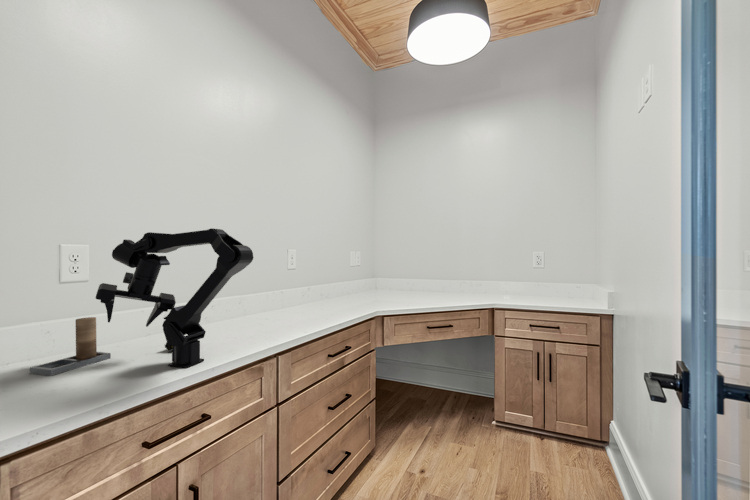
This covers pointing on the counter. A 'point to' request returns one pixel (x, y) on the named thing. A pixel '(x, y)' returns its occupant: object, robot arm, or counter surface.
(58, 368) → the grey divided tray
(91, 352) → the post
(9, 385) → the counter surface
